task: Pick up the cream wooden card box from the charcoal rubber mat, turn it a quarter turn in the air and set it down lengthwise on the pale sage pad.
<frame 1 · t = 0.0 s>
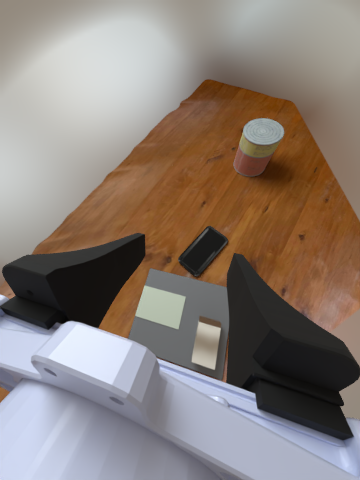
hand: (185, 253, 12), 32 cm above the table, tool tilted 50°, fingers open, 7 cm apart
card box: (205, 338, 37), point 1 cm above the table, touching mat
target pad: (160, 306, 40), resting on mat
mat: (181, 316, 39), on the table
phone: (203, 251, 46), on the table
canned food: (249, 164, 55), on the table
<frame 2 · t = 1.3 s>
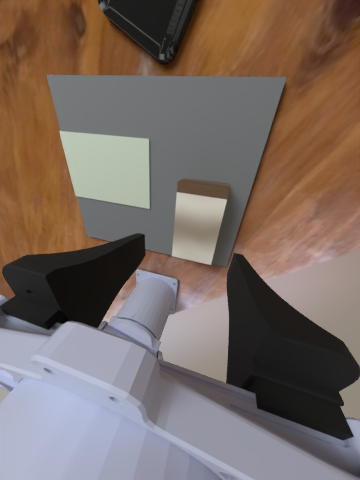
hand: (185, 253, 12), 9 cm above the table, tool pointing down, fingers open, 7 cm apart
card box: (200, 217, 19), point 1 cm above the table, touching mat
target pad: (107, 171, 20), resting on mat
mat: (151, 185, 20), on the table
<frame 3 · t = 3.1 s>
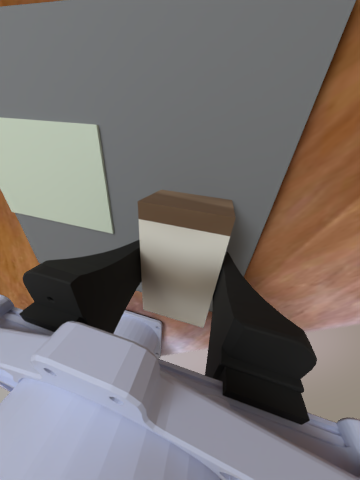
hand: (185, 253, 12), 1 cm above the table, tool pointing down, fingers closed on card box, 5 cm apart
card box: (187, 248, 13), point 1 cm above the table, touching gripper, mat
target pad: (46, 178, 13), resting on mat
mat: (114, 198, 13), on the table
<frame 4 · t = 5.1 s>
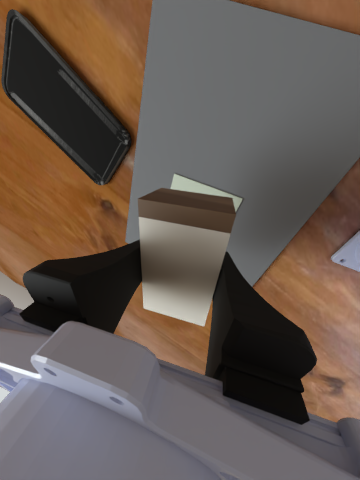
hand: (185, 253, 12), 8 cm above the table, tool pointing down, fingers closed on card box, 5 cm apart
card box: (188, 247, 13), point 8 cm above the table, touching gripper
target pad: (190, 231, 20), resting on mat
mat: (216, 188, 17), on the table
phone: (73, 115, 18), on the table
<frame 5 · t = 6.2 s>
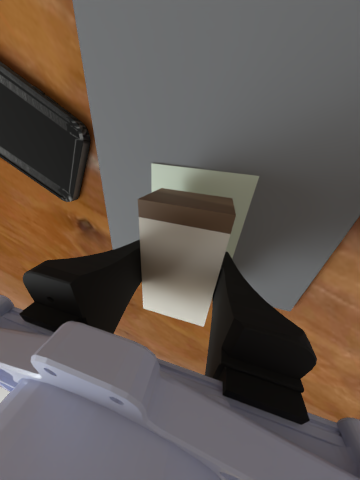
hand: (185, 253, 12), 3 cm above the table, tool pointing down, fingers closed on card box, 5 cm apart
card box: (187, 247, 13), point 2 cm above the table, touching gripper
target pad: (191, 238, 14), resting on mat
mat: (216, 170, 11), on the table
phone: (21, 123, 14), on the table
when the fingers open (3 cm above the table, at t = 7.2 s): card box drops 1 cm, resting on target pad.
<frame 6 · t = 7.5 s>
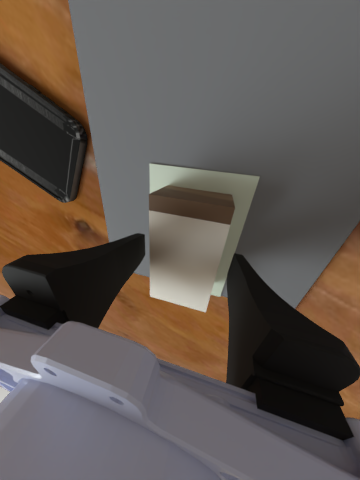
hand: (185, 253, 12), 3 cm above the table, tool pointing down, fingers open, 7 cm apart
card box: (191, 240, 14), point 1 cm above the table, touching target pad
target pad: (191, 240, 14), resting on mat
mat: (215, 170, 11), on the table
phone: (17, 123, 14), on the table
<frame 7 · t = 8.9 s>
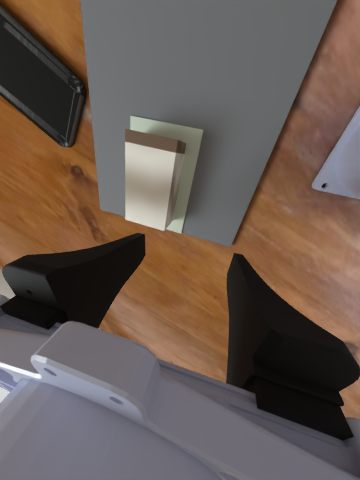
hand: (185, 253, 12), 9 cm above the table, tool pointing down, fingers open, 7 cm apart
card box: (159, 181, 18), point 1 cm above the table, touching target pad
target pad: (159, 182, 19), resting on mat
mat: (176, 125, 16), on the table
phone: (30, 76, 18), on the table
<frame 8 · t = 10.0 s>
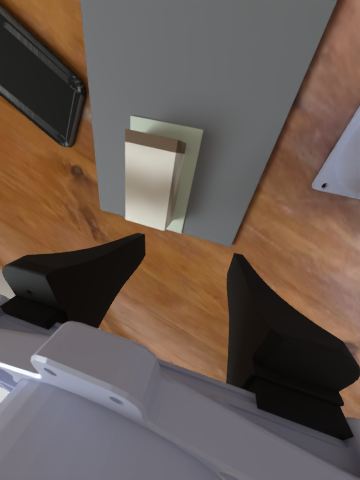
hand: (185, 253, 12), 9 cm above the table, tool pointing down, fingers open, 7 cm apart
card box: (159, 181, 18), point 1 cm above the table, touching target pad
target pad: (159, 182, 19), resting on mat
mat: (176, 125, 16), on the table
phone: (30, 76, 18), on the table
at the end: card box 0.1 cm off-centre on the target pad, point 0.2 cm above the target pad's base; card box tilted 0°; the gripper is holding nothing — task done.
